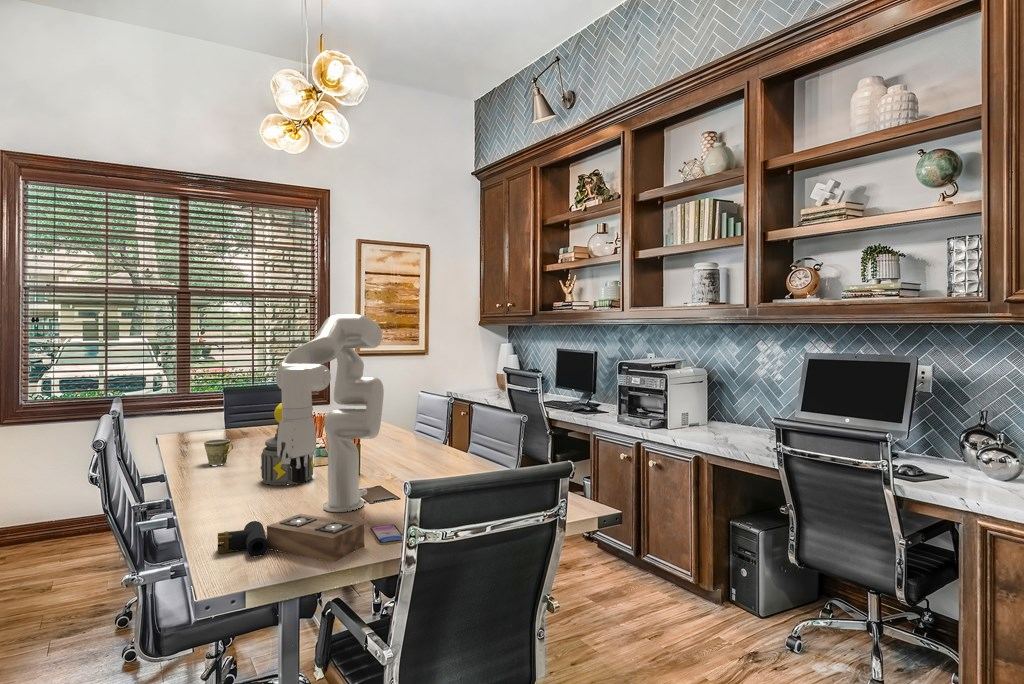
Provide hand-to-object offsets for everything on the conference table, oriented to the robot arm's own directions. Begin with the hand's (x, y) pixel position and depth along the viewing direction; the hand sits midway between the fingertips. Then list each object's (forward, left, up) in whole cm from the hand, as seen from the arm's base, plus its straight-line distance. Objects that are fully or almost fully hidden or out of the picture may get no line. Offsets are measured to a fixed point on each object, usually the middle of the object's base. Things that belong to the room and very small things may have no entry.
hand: (298, 481), depth 163 cm
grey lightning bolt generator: (-50, -55, -17) cm, 76 cm away
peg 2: (+1, +12, -16) cm, 20 cm away
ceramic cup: (-58, -101, -17) cm, 118 cm away
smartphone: (-15, +17, -17) cm, 29 cm away
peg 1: (+1, 0, -16) cm, 16 cm away
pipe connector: (+9, -11, -17) cm, 22 cm away
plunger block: (+1, +6, -17) cm, 18 cm away
